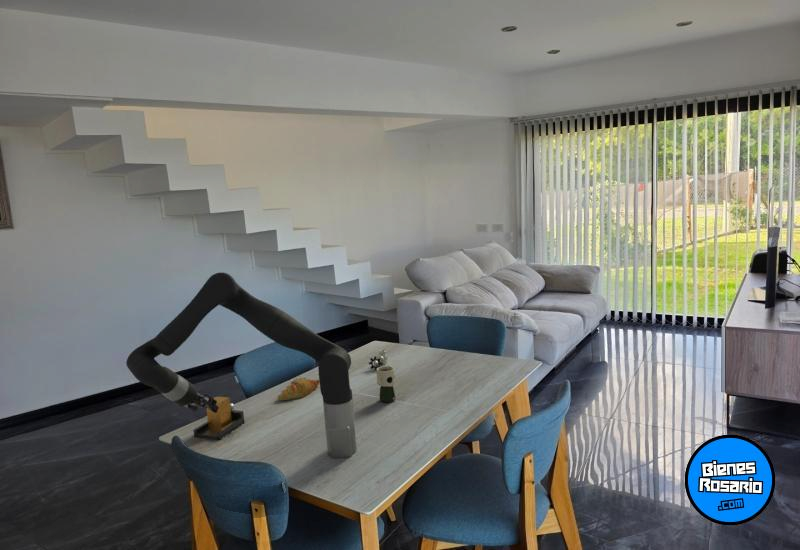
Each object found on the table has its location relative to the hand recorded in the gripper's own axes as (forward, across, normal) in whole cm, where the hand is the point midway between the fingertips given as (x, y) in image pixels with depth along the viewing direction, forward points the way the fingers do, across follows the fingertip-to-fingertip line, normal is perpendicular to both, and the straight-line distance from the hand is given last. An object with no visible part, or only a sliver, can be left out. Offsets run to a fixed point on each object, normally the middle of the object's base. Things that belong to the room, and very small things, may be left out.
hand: (206, 409), depth 185 cm
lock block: (+15, +4, +1) cm, 15 cm away
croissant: (+43, -6, -24) cm, 50 cm away
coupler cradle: (+15, +4, +2) cm, 16 cm away
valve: (+72, -27, -52) cm, 93 cm away
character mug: (+44, -46, -24) cm, 68 cm away
